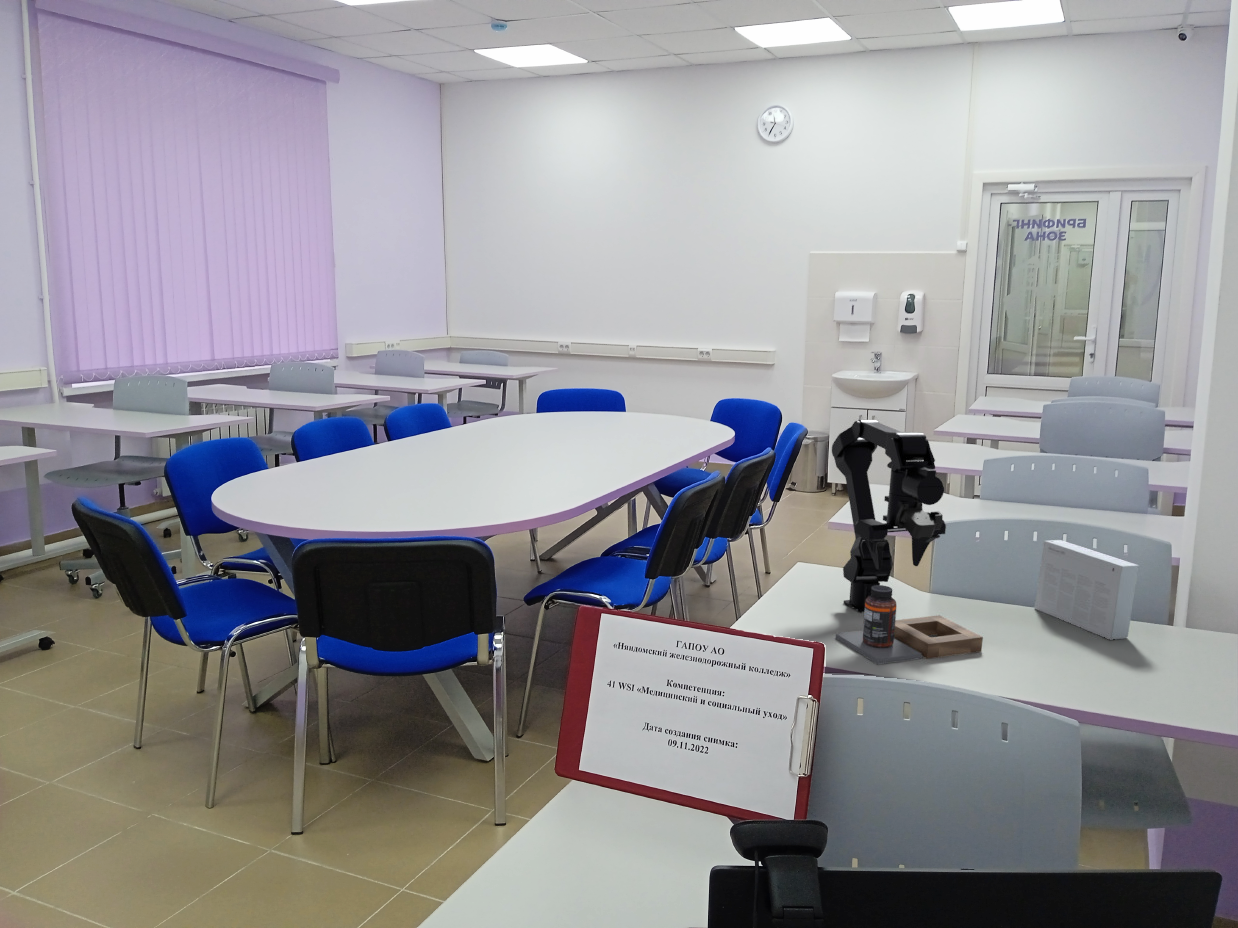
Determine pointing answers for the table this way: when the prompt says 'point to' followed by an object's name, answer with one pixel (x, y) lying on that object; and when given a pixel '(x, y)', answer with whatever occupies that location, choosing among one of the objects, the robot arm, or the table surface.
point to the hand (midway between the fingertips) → (897, 567)
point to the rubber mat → (878, 649)
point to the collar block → (948, 642)
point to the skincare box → (1086, 588)
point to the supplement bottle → (879, 617)
